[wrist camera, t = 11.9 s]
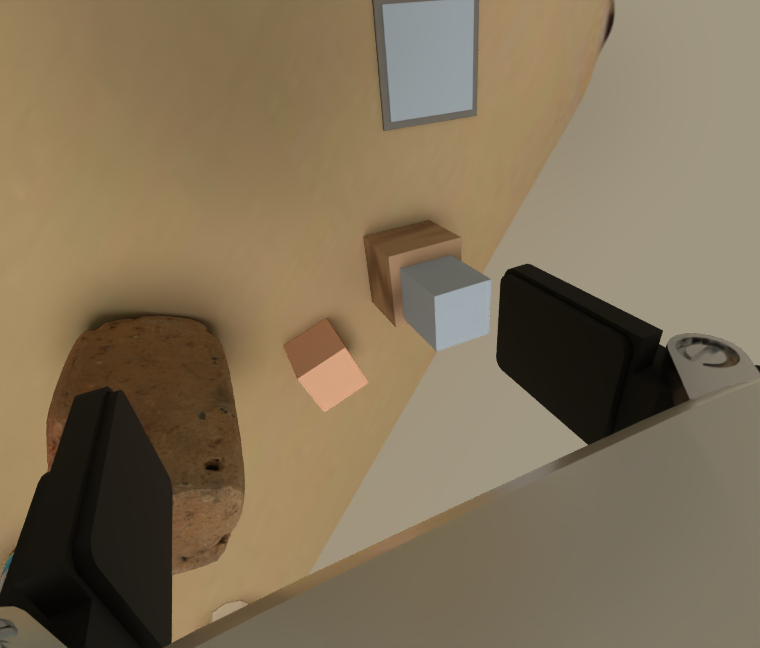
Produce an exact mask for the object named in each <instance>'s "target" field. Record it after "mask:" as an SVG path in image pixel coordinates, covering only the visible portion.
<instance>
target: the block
mask: <svg viewBox="0 0 760 648" xmlns="http://www.w3.org/2000/svg"><path fill="white" fill-rule="evenodd" d="M207 331H208V330H207V328H206V326H205V325H203V324H201V323H199V322H198V321H195V320H191V319H187V318H180V317H171V316H160V315H156V316H143V317H140V318H137V319H121V320H116V321H112V322H108V323H105V324H103V325H101V326H100V327H99V328H98V329H96V330H89V331H86V332H85V333H83V334H82V335H80V337H79V338H78V339H77V340H76V342H75V344H74V346H73V348H72V349H71V351H70V353H69V356H68V358H67V360H66V362H65V365H64V367H63V370H62V372H61V375H60V378H59V380H58V383H57V386H56V388H55V391H54V394H53V398H52V401H51V405H50V408H49V412H48V417H47V431H46V436H47V463H48V472H50V470H51V467H52V464H53V461H54V457H55V454H56V451H57V448H58V445H59V442H60V439H61V436H62V433H63V430H64V427H65V424H66V421H67V418H68V415H69V412H70V409H71V405H72V402H73V399H74V397H75V396H76V395H79V394H82V393H86V392H89V391H93V390H96V389H100V388H103V387H106V386H108V387H110V388H111V389H112V390H113V392H114V391H117V390H122V391H123V392H124V393H125V395H126V397H127V398H128V400H129V402H130V404H131V406H132V408H133V410H134V411H135V413H136V415H137V417H138V419H139V421H140V423H141V424H142V426H143V428H144V430H145V432H146V434H147V436H148V438H149V439H150V441H151V443H152V445H153V447H154V449H155V451H156V452H157V454H158V456H159V458H160V460H161V462H162V464H163V466H164V467H165V469H166V471H167V473H168V475H169V477H170V480H171V484H172V490H173V516H172V575H173V574H178V573H183V572H186V571H190V570H193V569H196V568H199V567H203V566H205V565H207V564H210V563H212V562H215V561H217V560H218V559H219V557H220V556H221V555H222V554H223V552H224V551H225V548H226V545H227V542H228V540H229V538H230V535H231V532H232V531H233V530H234V528H235V527H236V525H237V522H238V520H239V518H240V516H241V513H242V508H243V503H244V491H245V478H244V463H243V456H242V447H241V437H240V432H239V426H238V419H237V413H236V408H235V401H234V395H233V388H232V384H231V379H230V372H229V368H228V364H227V360H226V358H225V354H224V351H223V347H222V345H221V343H220V341H219V340H218V339H217V338H216V337H215V336H213V335H211V334H210V333H208V332H207Z"/></svg>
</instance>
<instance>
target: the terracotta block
mask: <svg viewBox="0 0 760 648" xmlns="http://www.w3.org/2000/svg"><path fill="white" fill-rule="evenodd" d="M284 348H285V350H286V353H287V355H288V358H289V360H290V362H291V365H292V367H293V370H294V372H295V375H296V377H297V379H298V380H299V382H300V383H301V384H302V385H303V387H304V388H305V389H306V390H307V392H308V393H309V394H310V395H311V396H312V398H313V399H314V400H315V401H316V403H317V404H318V405H319V406H320V408H321V409H322V410H323V411H324V412H326V411H327V410H329V409H330V408H332V407H333V406H335V405H336V404H338V403H339V402H341V401H342V400H344V399H345V398H347V397H348V396H350V395H351V394H353V393H354V392H356V391H357V390H359V389H360V388H362V387H363V386H365V385H366V384H368V381H367V380H366V378H365V377H364V375H363V373H362V372H361V370H360V369H359V367H358V366H357V364H356V363H355V361H354V360H353V358H352V356H351V355H350V353H349V352H348V350H347V349H346V347H345V346H344V344H343V343H342V341H341V340H340V338H339V337H338V335H337V334H336V332H335V331H334V329H333V328H332V326H331V324H330V323H329V321H328V320H327V318H326V319H324V320H323V321H321V322H319V323H318V324H316V325H315V326H313V327H312V328H310V329H309V330H307V331H305V332H304V333H302V334H301V335H299V336H298V337H296V338H295V339H293V340H291V341H290V342H288V343H287V344H285V345H284Z"/></svg>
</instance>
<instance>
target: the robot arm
mask: <svg viewBox="0 0 760 648" xmlns="http://www.w3.org/2000/svg"><path fill="white" fill-rule="evenodd" d="M662 332H663V330H661V329H659V328H657V327H655V326H653V325H651V324H649V323H647V322H645V321H643V320H641V319H639V318H637V317H635V316H633V315H631V314H629V313H627V312H625V311H623V310H621V309H618V308H616V307H615V306H613V305H611V304H609V303H607V302H605V301H603V300H601V299H598V298H596V297H594V296H592V295H591V294H589V293H587V292H585V291H582V290H581V289H579V288H577V287H575V286H573V285H571V284H569V283H567V282H564V281H563V280H561V279H559V278H556V277H555V276H553V275H551V274H549V273H547V272H545V271H543V270H541V269H539V268H537V267H534V266H533V265H530V264H525V265H521V266H518V267H515V268H511V269H508V270H507V271H506V273H505V275H504V276H503V277H502V279H501V284H500V302H499V318H498V336H497V353H496V358H497V363H498V365H499V367H500V368H501V370H502V371H504V372H505V373H506V374H507V375H508V376H509V377H511V378H512V379H513V380H514V381H515V382H516V383H517V384H519V385H520V386H521V387H522V388H523V389H524V390H526V391H527V392H528V393H529V394H530V395H531V396H532V397H534V398H535V399H536V400H537V401H538V402H539V403H540V404H542V405H543V406H544V407H545V408H546V409H547V410H549V411H550V412H551V413H552V414H553V415H554V416H556V417H557V418H558V419H559V420H560V421H561V422H562V423H564V424H565V425H566V426H567V427H568V428H569V429H571V430H572V431H573V432H574V433H575V434H576V435H577V436H579V437H580V438H581V439H582V440H583V441H584V442H585V443H587V444H588V446H585V447H583V448H581V449H579V450H577V451H575V452H573V453H570V454H568V455H566V456H564V457H561V458H559V459H557V460H555V461H553V462H550V463H548V464H546V465H544V466H542V467H540V468H537V469H535V470H533V471H531V472H529V473H527V474H524V475H522V476H520V477H518V478H516V479H514V480H512V481H510V482H507V483H505V484H503V485H501V486H499V487H496V488H495V489H492V490H490V491H488V492H486V493H483V494H481V495H479V496H477V497H475V498H473V499H471V500H468V501H466V502H464V503H462V504H460V505H458V506H455V507H453V508H451V509H449V510H447V511H445V512H443V513H440V514H438V515H436V516H434V517H432V518H430V519H428V520H426V521H423V522H421V523H419V524H417V525H415V526H413V527H411V528H408V529H406V530H404V531H402V532H400V533H398V534H396V535H393V536H391V537H389V538H387V539H385V540H383V541H381V542H379V543H376V544H375V545H372V546H370V547H368V548H366V549H364V550H362V551H359V552H357V553H356V554H354V555H351V556H349V557H347V558H345V559H342V560H340V561H339V562H336V563H334V564H332V565H330V566H328V567H325V568H323V569H321V570H319V571H317V572H315V573H313V574H311V575H308V576H306V577H304V578H302V579H300V580H298V581H296V582H294V583H292V584H289V585H287V586H285V587H283V588H281V589H279V590H277V591H275V592H273V593H271V594H269V595H267V596H265V597H263V598H261V599H259V600H257V601H255V602H253V603H251V604H249V605H247V606H245V607H242V608H240V609H238V610H236V611H234V612H232V613H230V614H228V615H226V616H224V617H222V618H220V619H218V620H216V621H214V622H212V623H210V624H208V625H206V626H204V627H202V628H200V629H198V630H195V631H194V632H192V633H190V634H188V635H186V636H184V637H182V638H181V639H179V640H177V641H175V642H173V643H171V641H172V516H173V490H172V484H171V480H170V477H169V475H168V473H167V471H166V469H165V467H164V466H163V464H162V462H161V460H160V458H159V456H158V454H157V452H156V451H155V449H154V447H153V445H152V443H151V441H150V439H149V438H148V436H147V434H146V432H145V430H144V428H143V426H142V424H141V423H140V421H139V419H138V417H137V415H136V413H135V411H134V410H133V408H132V406H131V404H130V402H129V400H128V398H127V397H126V395H125V393H124V392H123V391H122V390H117V391H114V392H113V390H112V389H111V388H110V387H108V386H106V387H103V388H100V389H96V390H93V391H89V392H86V393H82V394H79V395H76V396H75V397H74V399H73V402H72V405H71V409H70V412H69V415H68V418H67V421H66V424H65V427H64V430H63V433H62V436H61V439H60V442H59V445H58V448H57V451H56V454H55V457H54V461H53V464H52V467H51V470H50V472H47V473H45V474H44V475H43V476H42V477H41V479H40V481H39V483H38V485H37V488H36V491H35V494H34V497H33V499H32V502H31V505H30V508H29V511H28V514H27V517H26V520H25V523H24V525H23V528H22V531H21V534H20V537H19V540H18V543H17V546H16V548H15V551H14V554H13V557H12V560H11V563H10V566H9V569H8V572H7V574H6V577H5V580H4V583H3V586H2V589H1V592H0V648H760V366H758V365H754V364H753V362H752V361H751V359H750V358H749V357H748V355H747V354H746V353H745V352H744V351H743V350H742V349H741V348H739V347H738V346H736V345H734V344H733V343H731V342H729V341H726V340H724V339H721V338H717V337H714V336H710V335H705V334H696V333H691V334H690V333H686V334H680V335H676V336H674V337H672V338H670V340H669V341H668V343H667V346H666V348H665V347H663V346H662V345H660V344H659V342H660V339H661V335H662Z"/></svg>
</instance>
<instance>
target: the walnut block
mask: <svg viewBox="0 0 760 648" xmlns="http://www.w3.org/2000/svg"><path fill="white" fill-rule="evenodd" d="M363 238H364V245H365V253H366V260H367V268H368V275H369V282H370V290H371V297H372V302H373V303H374V304H375V305H376V306H377V308H378V309H379V310H380V311H381V312H382V313H383V314H384V315H385V316H386V317H387V318H388V320H389V321H390V322H391V323H392V324H393V325H394V326H395V327H396V328H397V327H400V326H403V325H406V324H409V323H408V322H407V321H406V320H405V319H404V313H403V301H402V289H401V277H400V269H401V268H404V267H408V266H412V265H415V264H419V263H423V262H426V261H430V260H433V259H437V258H441V257H444V256H448V255H452V256H453V257H455V258H457V259H458V260H460V261H461V237H460V236H458V235H456V234H454V233H452V232H450V231H448V230H446V229H444V228H442V227H441V226H439V225H437V224H435V223H433V222H431V221H429V220H428V221H424V222H420V223H416V224H413V225H409V226H405V227H401V228H397V229H393V230H389V231H385V232H381V233H377V234H373V235H369V236H365V237H363Z"/></svg>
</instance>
